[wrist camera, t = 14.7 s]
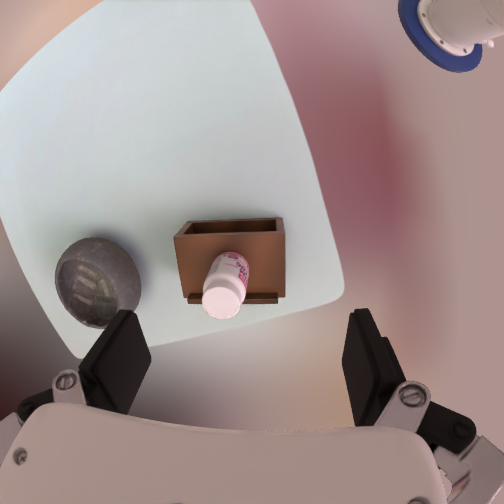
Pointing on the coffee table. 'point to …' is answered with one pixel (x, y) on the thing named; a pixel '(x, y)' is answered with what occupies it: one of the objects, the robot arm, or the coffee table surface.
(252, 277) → the shelf
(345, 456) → the robot arm
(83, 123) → the coffee table surface
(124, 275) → the bowl
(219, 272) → the pill bottle
